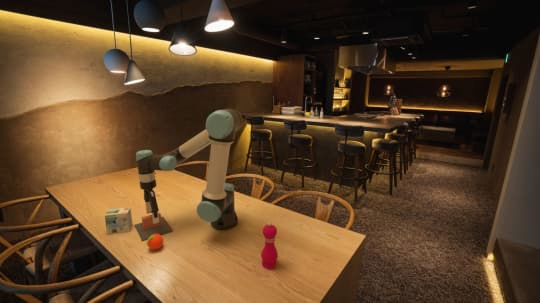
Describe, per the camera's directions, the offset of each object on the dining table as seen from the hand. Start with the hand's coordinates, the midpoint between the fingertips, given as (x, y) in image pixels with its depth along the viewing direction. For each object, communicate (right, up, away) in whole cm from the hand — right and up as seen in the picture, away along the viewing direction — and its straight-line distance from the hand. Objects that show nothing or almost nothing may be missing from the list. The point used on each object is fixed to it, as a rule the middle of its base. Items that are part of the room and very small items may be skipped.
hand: (152, 217), depth 132 cm
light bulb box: (-17, -6, -1) cm, 18 cm away
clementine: (+9, -10, -16) cm, 21 cm away
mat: (0, -6, +1) cm, 6 cm away
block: (-1, -5, +1) cm, 5 cm away
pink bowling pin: (+62, -13, -25) cm, 69 cm away
